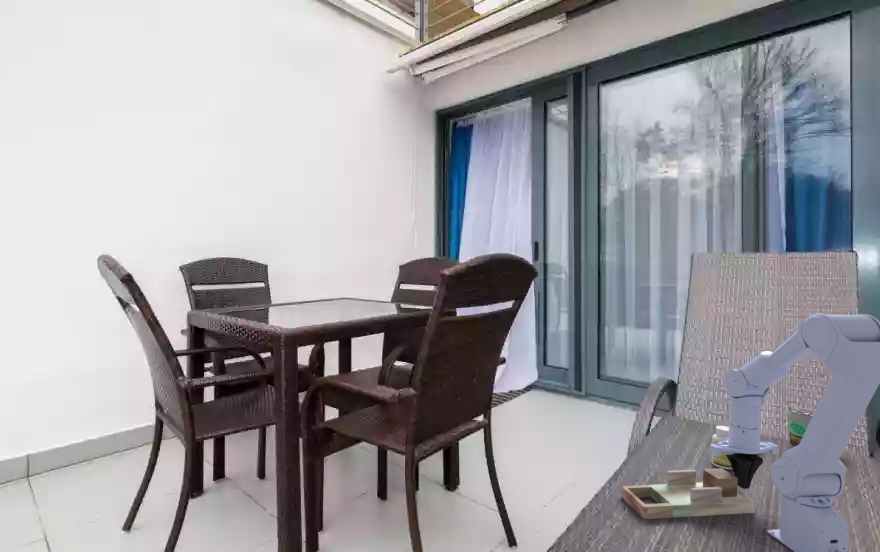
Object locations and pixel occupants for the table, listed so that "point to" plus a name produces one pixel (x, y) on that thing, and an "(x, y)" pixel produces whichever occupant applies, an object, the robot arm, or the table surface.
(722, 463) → the supplement bottle
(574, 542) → the table surface
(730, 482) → the walnut block
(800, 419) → the food container
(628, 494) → the board
